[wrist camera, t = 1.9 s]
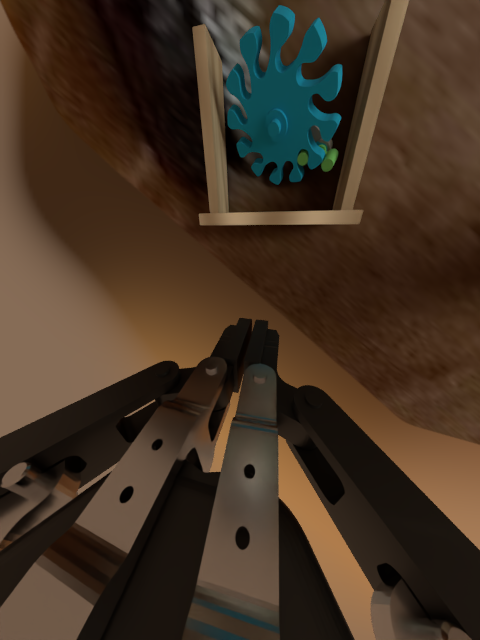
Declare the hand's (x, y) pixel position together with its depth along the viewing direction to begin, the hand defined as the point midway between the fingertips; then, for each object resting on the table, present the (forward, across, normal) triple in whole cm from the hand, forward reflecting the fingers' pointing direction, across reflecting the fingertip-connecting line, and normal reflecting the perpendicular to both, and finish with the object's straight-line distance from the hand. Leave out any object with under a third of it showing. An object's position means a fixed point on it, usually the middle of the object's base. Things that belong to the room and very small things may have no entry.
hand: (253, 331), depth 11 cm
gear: (+17, 0, -13) cm, 21 cm away
